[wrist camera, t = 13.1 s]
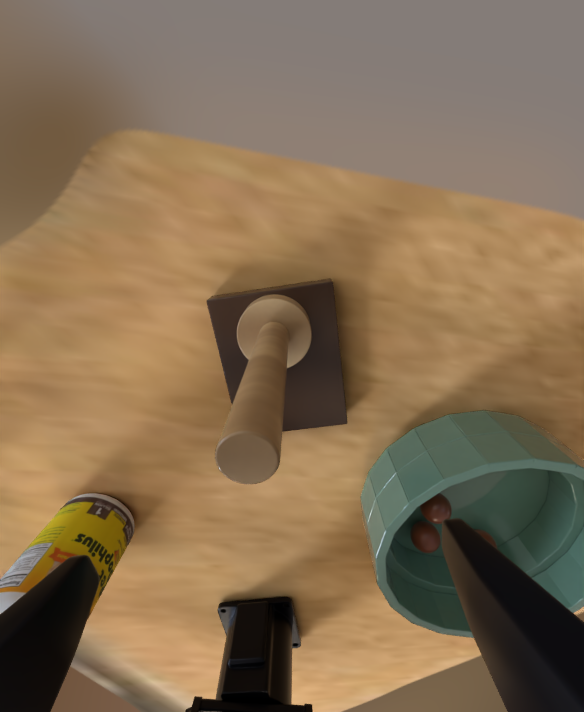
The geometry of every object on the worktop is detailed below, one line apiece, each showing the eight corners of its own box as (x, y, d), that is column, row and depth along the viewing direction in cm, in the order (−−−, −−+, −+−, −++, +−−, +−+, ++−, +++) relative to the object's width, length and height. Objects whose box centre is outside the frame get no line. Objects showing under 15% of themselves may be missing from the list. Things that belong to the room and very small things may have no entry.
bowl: (544, 549, 26) (606, 628, 21) (365, 565, 27) (382, 645, 22) (572, 391, 21) (663, 444, 16) (351, 418, 22) (368, 476, 17)
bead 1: (430, 526, 23) (452, 533, 21) (409, 510, 22) (429, 515, 21) (440, 500, 23) (462, 504, 22) (420, 484, 23) (440, 487, 21)
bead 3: (486, 541, 24) (502, 566, 23) (459, 543, 25) (472, 569, 23) (488, 521, 24) (504, 546, 22) (460, 524, 24) (474, 548, 22)
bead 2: (446, 526, 22) (446, 559, 22) (432, 519, 24) (431, 548, 24) (417, 524, 22) (417, 556, 22) (406, 516, 24) (405, 545, 24)
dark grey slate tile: (345, 414, 22) (347, 424, 20) (242, 426, 22) (239, 437, 21) (330, 278, 18) (332, 281, 17) (211, 296, 19) (205, 300, 18)
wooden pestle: (314, 357, 19) (336, 514, 8) (247, 365, 19) (187, 528, 9) (306, 289, 17) (320, 375, 7) (233, 299, 18) (143, 396, 7)
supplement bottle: (151, 532, 26) (65, 710, 16) (91, 549, 26) (-25, 728, 17) (114, 480, 24) (-8, 646, 14) (50, 499, 25) (-105, 669, 15)
